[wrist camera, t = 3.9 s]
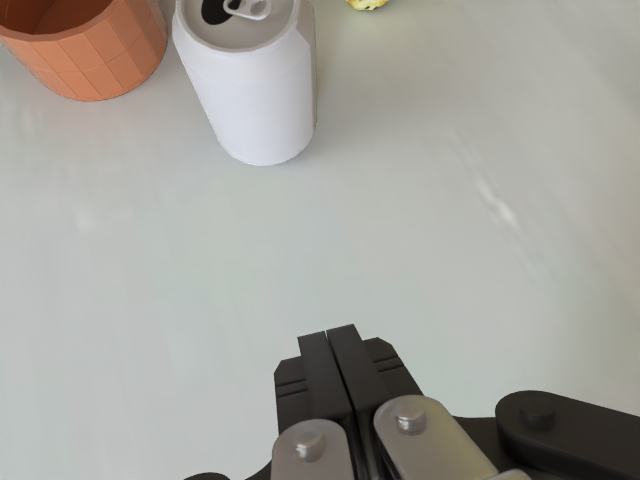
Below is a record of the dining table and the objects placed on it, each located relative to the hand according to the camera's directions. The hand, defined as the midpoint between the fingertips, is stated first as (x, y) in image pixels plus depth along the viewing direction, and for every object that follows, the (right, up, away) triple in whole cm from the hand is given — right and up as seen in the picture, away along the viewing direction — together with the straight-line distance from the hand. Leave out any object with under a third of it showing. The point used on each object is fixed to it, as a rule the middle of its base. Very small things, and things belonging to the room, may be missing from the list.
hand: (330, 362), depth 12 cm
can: (-4, +12, +22) cm, 25 cm away
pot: (-18, +19, +24) cm, 35 cm away
